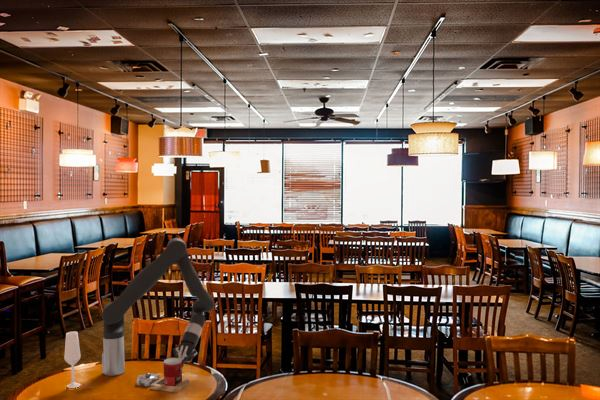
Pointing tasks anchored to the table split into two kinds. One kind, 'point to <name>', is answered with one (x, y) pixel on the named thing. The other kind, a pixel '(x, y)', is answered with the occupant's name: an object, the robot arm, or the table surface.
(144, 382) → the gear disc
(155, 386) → the cradle
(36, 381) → the table surface
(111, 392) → the table surface
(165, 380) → the canned food
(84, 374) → the table surface
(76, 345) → the champagne flute
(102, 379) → the table surface
